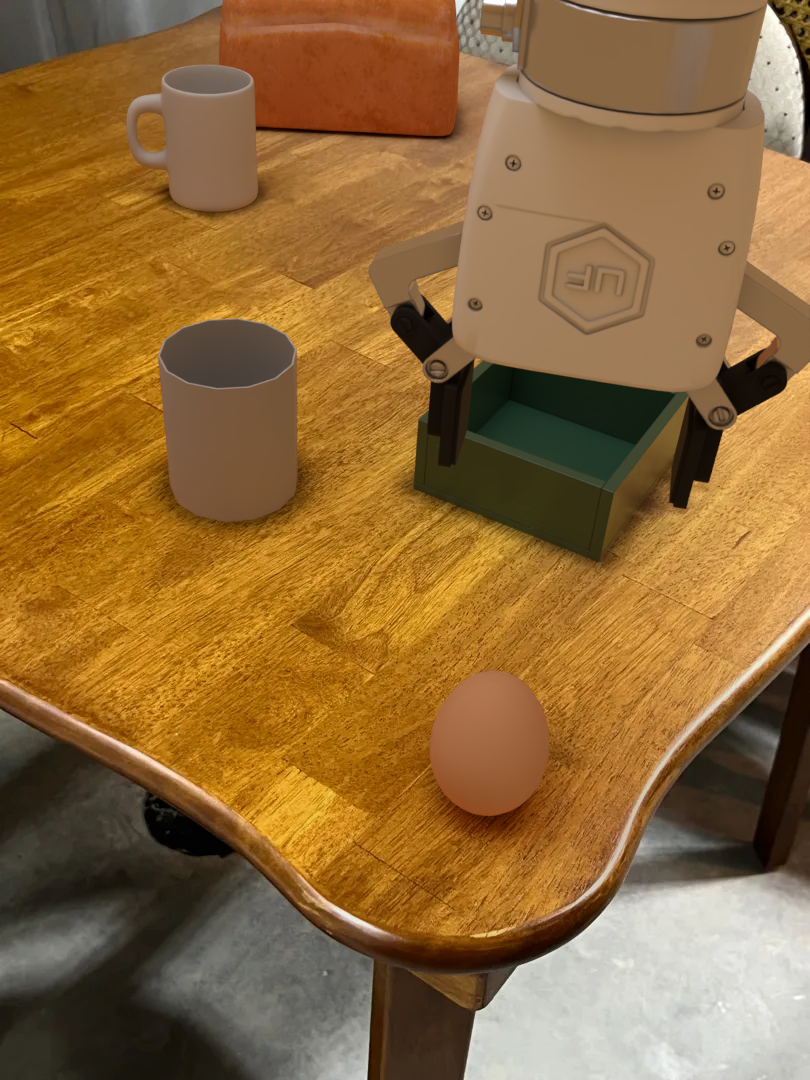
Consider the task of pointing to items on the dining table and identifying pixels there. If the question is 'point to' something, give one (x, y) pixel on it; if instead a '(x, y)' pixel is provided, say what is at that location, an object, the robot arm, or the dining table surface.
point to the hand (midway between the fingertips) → (563, 468)
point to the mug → (203, 136)
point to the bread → (347, 63)
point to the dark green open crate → (555, 454)
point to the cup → (230, 418)
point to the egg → (490, 743)
